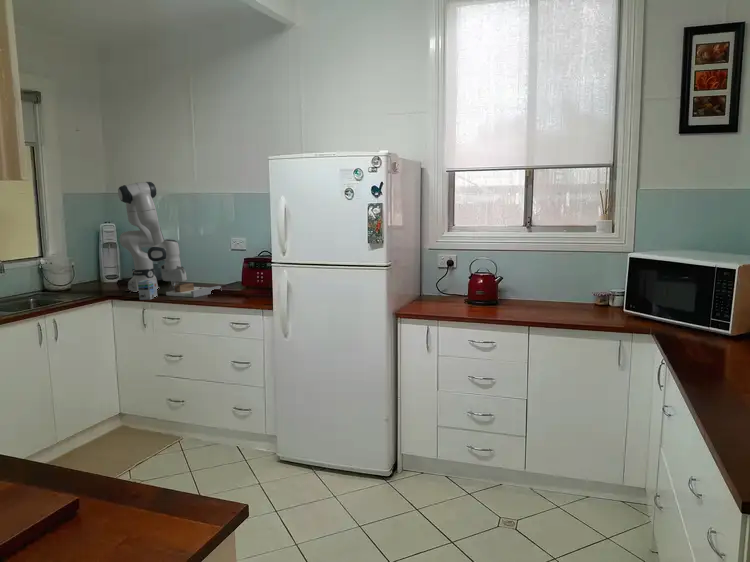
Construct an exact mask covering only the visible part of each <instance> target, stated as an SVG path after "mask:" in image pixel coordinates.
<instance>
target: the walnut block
mask: <svg viewBox="0 0 750 562" xmlns="http://www.w3.org/2000/svg"><path fill="white" fill-rule="evenodd" d="M174 287H175V289H174V290H175V292H185V291H191V290H194V287H195V286H194V283H193V282H192V283H191V282H186V283H182V284H181V283H179V284H178V285H174Z"/></svg>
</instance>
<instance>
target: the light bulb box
mask: <svg viewBox="0 0 750 562" xmlns="http://www.w3.org/2000/svg"><path fill="white" fill-rule="evenodd" d="M156 279H157V278H156ZM156 279H149V280H143V281H140V282H138V288H139V292H138V295H139V296H138V297H139V300H140V301H146V300H147V301H148V300H149V301H150V300H152V299H155V298H154V297H156V296H157V297H158V290H157V287H156ZM157 297H156V298H157Z"/></svg>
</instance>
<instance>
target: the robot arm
mask: <svg viewBox="0 0 750 562" xmlns="http://www.w3.org/2000/svg"><path fill="white" fill-rule="evenodd" d="M117 196H118V198H119V200H120V201H121V202H122V203H125V207H126V214H127V219H128V220H127V221H128V222H129V223H130V225H133V226H134V227H137V228H138V230H127V231H124V232H122V233H121V234H120V235H119V238H118V239H119V244H120V245H121V246H122V248H124V249H125V250H127V251H128V252H129V253H130V255H131V256H132V257H131V258H132V259H133V265H134V270H133V271H132V273H133V276H132V277H131V279H130V280H129V281H128V283H127V289H129V290H131V291H133V292H137V291H139V288H138V282H140V281H143V280H149V279H156V287H157V289H158V288H159V289H160V286H159V285H158V280H157V277H156V275H155V273H156V272H155V271H156V270H155V268H154V262H155V263H157V262H164V263H163V264H162V265H161V266H160V269H161V279H162V281H165V282H170V284H171V286H172V289H174V290H175V287H174V285H180V282H181V283H184V282H187V280H188V278H187V276H188V275H187V273H186V269H185V268H184V267H183V266H182V263H181V258H180V257H181V256H180V254H181V252H180V245H179V243H178V241H177V240H175V239H167V238H166V239H164V235H163V232H162V229H161V226H160V225H161V224H160V221H159V217H158V211H157V208H156V205H155V202H154V200H153V199H154V198H155V197H156V196H157V187H156V185H155V184H154V182H152V181H145V182H144V181H143V182H142V181H141V182H135V183H129V184H126V185H125V184H124V185H120V186H119V187H118V189H117ZM142 248H148V251H147V252H145V251H144V250H143V249H142ZM159 289H158V290H159Z"/></svg>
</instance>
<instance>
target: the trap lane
mask: <svg viewBox="0 0 750 562" xmlns="http://www.w3.org/2000/svg"><path fill="white" fill-rule="evenodd" d="M220 288H221V289H222V285H217V286H211V287H207V286H206V287H204V286H201V287H200V286H194V290H191V291H185V292H175V289H174V290H170V291H165V295H166V296H172V297H186V298H197V297H202V296H206V295H212V294H211V291H212V290H214V289H220Z"/></svg>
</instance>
